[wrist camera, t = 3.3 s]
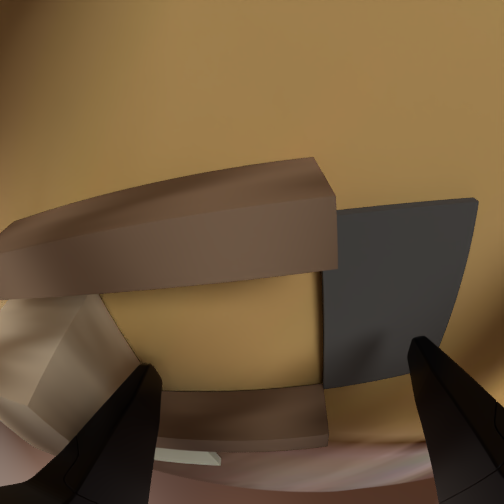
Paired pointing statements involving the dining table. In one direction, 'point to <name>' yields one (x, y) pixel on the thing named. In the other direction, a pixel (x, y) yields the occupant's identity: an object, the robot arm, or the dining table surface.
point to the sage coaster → (187, 456)
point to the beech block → (58, 366)
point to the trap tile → (391, 285)
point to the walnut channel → (192, 276)
